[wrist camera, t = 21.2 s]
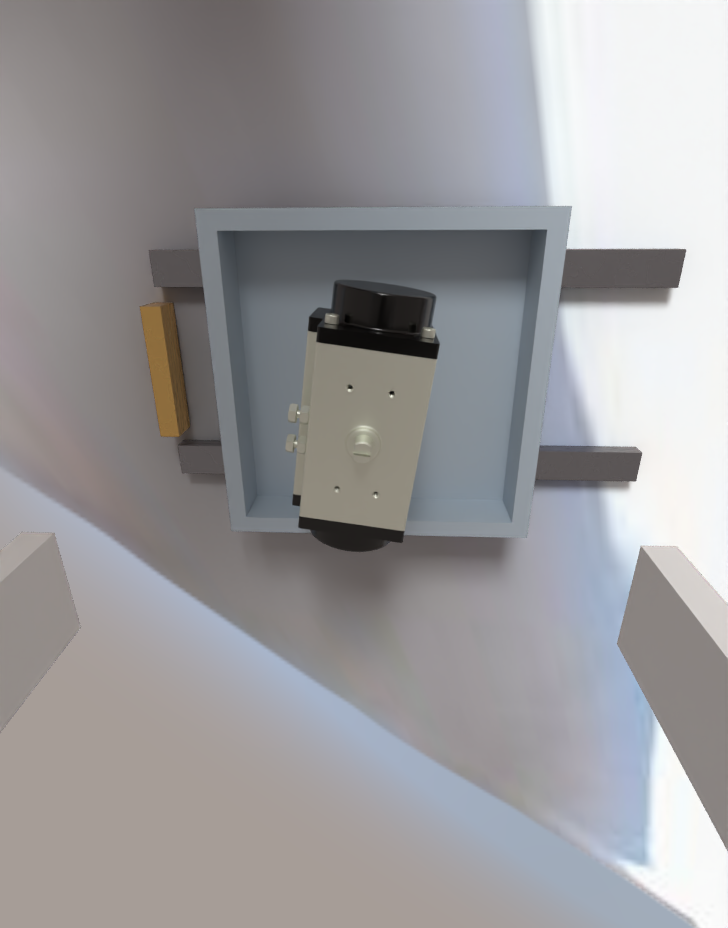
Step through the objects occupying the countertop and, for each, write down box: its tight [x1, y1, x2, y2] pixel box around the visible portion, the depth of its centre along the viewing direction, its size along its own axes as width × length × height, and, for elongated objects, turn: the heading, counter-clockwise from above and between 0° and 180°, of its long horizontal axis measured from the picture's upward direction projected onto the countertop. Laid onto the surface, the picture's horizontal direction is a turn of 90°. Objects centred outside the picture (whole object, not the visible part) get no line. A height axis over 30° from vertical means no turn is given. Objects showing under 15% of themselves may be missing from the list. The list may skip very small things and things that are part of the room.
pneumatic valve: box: [285, 280, 440, 552], centre depth 26 cm, size 6×12×12 cm, turn 172°
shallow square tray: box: [194, 206, 572, 538], centre depth 31 cm, size 18×18×4 cm
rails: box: [140, 249, 686, 481], centre depth 33 cm, size 14×31×2 cm, turn 90°
